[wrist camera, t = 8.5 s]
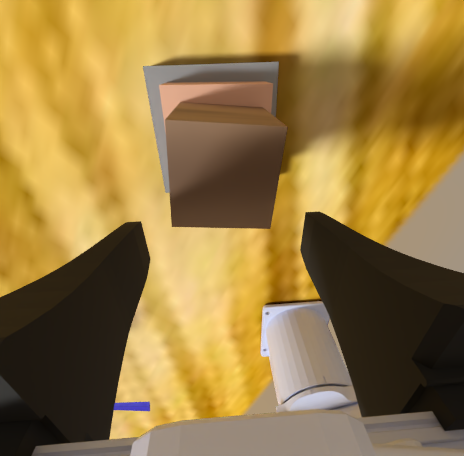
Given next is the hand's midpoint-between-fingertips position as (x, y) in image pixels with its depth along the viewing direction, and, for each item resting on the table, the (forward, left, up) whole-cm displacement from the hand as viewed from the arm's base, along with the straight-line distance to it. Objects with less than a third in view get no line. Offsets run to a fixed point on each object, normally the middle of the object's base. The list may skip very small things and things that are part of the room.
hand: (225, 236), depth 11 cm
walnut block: (+2, 0, -6) cm, 6 cm away
